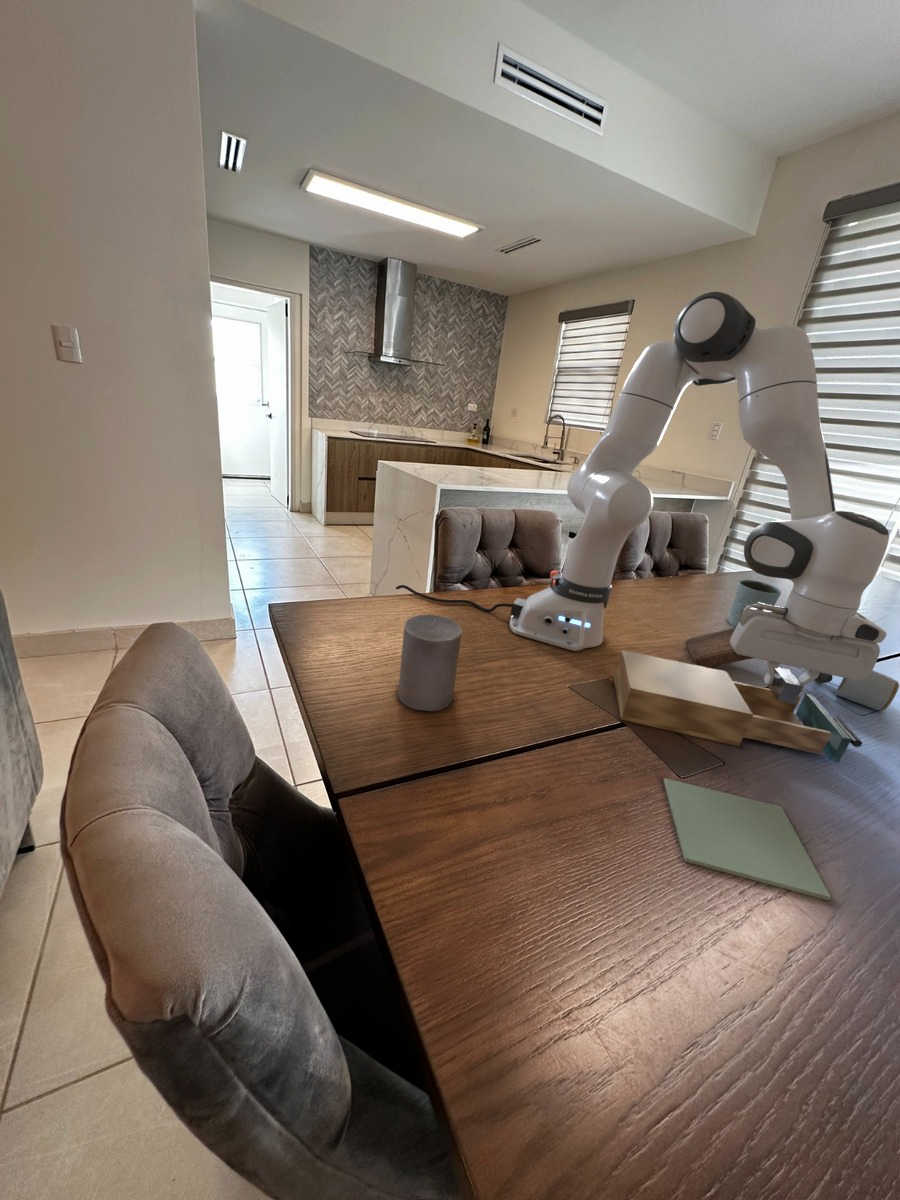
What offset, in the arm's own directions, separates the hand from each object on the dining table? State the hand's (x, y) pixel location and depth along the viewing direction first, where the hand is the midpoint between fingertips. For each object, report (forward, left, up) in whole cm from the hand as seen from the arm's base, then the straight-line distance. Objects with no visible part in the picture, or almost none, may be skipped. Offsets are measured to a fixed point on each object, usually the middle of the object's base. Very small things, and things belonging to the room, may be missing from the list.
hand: (782, 686), depth 81 cm
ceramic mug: (+26, +22, -10) cm, 36 cm away
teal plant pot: (+14, +55, -10) cm, 57 cm away
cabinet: (-16, +1, -10) cm, 18 cm away
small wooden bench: (+7, +26, -10) cm, 28 cm away
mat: (-13, -27, -10) cm, 32 cm away
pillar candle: (-60, -13, -10) cm, 62 cm away
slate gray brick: (0, 0, -1) cm, 1 cm away
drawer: (+2, +1, -9) cm, 9 cm away
